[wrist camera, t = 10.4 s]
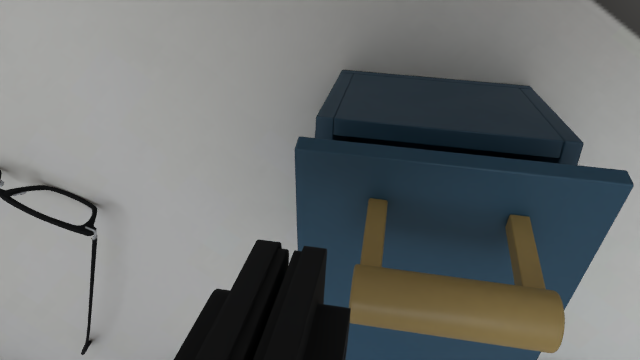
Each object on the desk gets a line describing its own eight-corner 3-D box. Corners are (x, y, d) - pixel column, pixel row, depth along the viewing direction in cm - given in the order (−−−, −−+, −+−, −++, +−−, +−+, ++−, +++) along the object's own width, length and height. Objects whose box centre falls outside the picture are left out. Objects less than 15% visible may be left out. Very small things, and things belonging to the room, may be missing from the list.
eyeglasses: (127, 206, 37) (98, 232, 34) (106, 352, 44) (80, 387, 40) (-76, 134, 37) (-128, 153, 34) (-65, 290, 44) (-107, 320, 41)
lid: (298, 135, 18) (256, 256, 13) (627, 169, 16) (699, 316, 12) (303, 350, 27) (280, 463, 23) (513, 383, 26) (530, 510, 21)
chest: (342, 69, 30) (315, 116, 22) (530, 85, 29) (584, 142, 20) (328, 254, 36) (304, 351, 27) (485, 275, 35) (512, 384, 26)
